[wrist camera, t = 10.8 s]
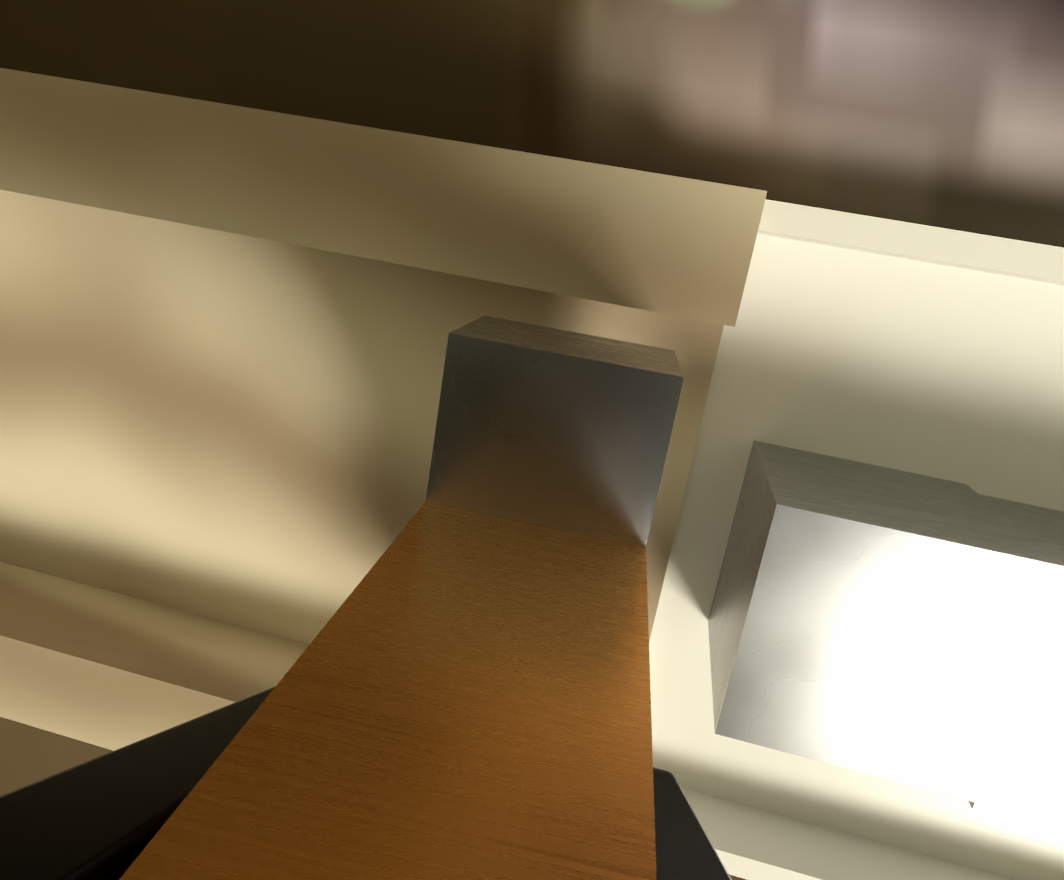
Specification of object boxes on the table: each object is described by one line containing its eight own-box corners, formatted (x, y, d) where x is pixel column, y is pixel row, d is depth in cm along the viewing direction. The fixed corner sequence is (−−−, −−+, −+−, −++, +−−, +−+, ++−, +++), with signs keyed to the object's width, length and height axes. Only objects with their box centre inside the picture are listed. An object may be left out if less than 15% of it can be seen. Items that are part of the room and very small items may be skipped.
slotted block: (615, 776, 18) (598, 896, 15) (-170, 559, 21) (-330, 617, 18) (748, 205, 14) (766, 191, 11) (-214, 47, 18) (-425, -1, 14)
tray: (1144, 922, 16) (1206, 1012, 14) (615, 776, 18) (606, 839, 16) (1439, 318, 13) (1571, 329, 11) (748, 205, 14) (758, 198, 13)
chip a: (904, 667, 16) (975, 802, 12) (708, 619, 16) (714, 734, 12) (965, 483, 14) (1066, 566, 11) (753, 440, 15) (776, 504, 11)
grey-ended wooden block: (584, 763, 14) (447, 2137, 4) (423, 726, 14) (-103, 1923, 4) (674, 350, 12) (894, 972, 2) (484, 315, 12) (-270, 684, 2)
